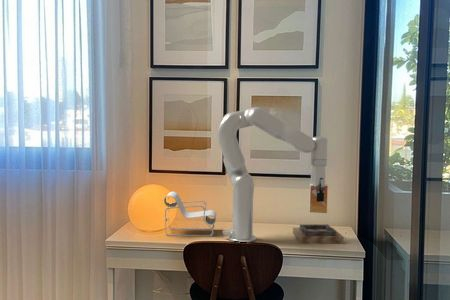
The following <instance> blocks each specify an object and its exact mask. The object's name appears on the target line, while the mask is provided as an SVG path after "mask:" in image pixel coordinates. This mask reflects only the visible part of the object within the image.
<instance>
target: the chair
mask: <svg viewBox="0 0 450 300" xmlns="http://www.w3.org/2000/svg"><path fill="white" fill-rule="evenodd" d="M166 197H168V198H169V197H172V198H173V199H174V200H175V201H174V202H175V203H172V204H169V203H167V202H166ZM163 203H164V205H165V206H166V207H167V208H165V210H164V228H165V229H164V230H165V236H169V237H171V236H172V237H212V236H213V235H214V232H215V231H214V228H215V223H216V222H217V221H216V220H217V213H216V211H215V210H213V209H208V210H207V202H206V201H203V200H196V201H193V200H192V201H182V200H181V197H180V195H179V194H178V192H176V191H170V192H168V194H167V195H165V198H164V199H163ZM187 203H189V204H190V203H203V204H204V206H203V205H191V206H184V204H187ZM177 206H178V207H177ZM169 207H170V208H169ZM186 208H202V209H203V210H201V211H193V212H190V211H187V210H186ZM171 209H179V210H180V213H181V214H182V216H183V218H185V219H194V218H201V217H202V218H203V222H204V223H205V224H206V225H207V226H208V227H209V228H201V229H202V231H203V230H206V231H207V230H211V233H210V234H168V231H167V222H168V221H169V218H168V219H167V211H168V210H171ZM211 226H212V227H211ZM168 228H169V229H171V230H200V228H197V227H196V228H193V227H192V228H191V227H190V228H189V227H186V228H185V227H179V228H177V227H174V228H173V227H171V224H170V225H169V224H168Z"/></svg>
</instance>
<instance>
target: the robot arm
mask: <svg viewBox="0 0 450 300" xmlns="http://www.w3.org/2000/svg"><path fill="white" fill-rule="evenodd" d="M253 126H255V127H256V128H257V129H259V130H261V131H263V132H265V133H267V134H268V135H269V136H271V137H273V138H275V139H278V140H280V141H283V142H285V143H287V144H289V145H291V146H293V147H294V149H295V150H296V151H298V152H299V153H305V154H309V153H310V166H311V171H310V184H312V185H314V187H316V186H317V191H318V193H317V201H318V202H323V201H324V187H325V184H326V167H327V166H328V138H327V137H326V136H313V137H312V136H311V137H310V136H309V135H308V134H306V133H304V132H303V131H301V130H299V129H297V128H295V127H294V126H292V125H290V124H289V123H287V122H285V121H284V120H282V119H280V118H279V117H277V116H275V115H273V114H272V113H270V112H268V111H267V110H265V109H263V108H261V107H258V106H254V107H250V108H246V109H243V110H237V111H233V112H229V113H226V114H224V116H223V118H222V121H221V122H220V124H219V127H218V130H217V139H218V143H219V147H220V150H221V153H222V156H223V164H224V167H225V168H224V169H225V171H226V173H227V175H228V179H229V181H230V183H231V186H232V189H233V190H232V228H231V229H229V230H222V235H223V236H225V237H226V236H227V237H228V236H229V237H228V240H230V241H231V242H234V241H239V242H238V243H240V242H247V243H253V242H255V241H257V237H256V235H254V234H253V232H254V231H253V229H254V228H253V225H254V223H253V222H254V193H255V182H254V179H253V177H252V175H251V174H250V173H249V172H248V169H247V166H246V159H245V155H244V154H243V152H242V149H241V146H240V144H239V141H238V140H239V139H238V138H237V132H238V130H239V129H243V128H248V127H253ZM319 188H320V189H319Z"/></svg>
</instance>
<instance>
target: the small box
mask: <svg viewBox="0 0 450 300" xmlns="http://www.w3.org/2000/svg"><path fill="white" fill-rule="evenodd" d="M319 189H320V188H319ZM317 193H318V191H317V186H316V187H314V185H312V184H311V183H309V201H308V203H309V207H308V209H309V213H316V214H318V213H319V214H327V213H328V184H326V183H325V187H324V201H323V202H318V201H317Z"/></svg>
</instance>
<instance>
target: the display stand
mask: <svg viewBox="0 0 450 300" xmlns="http://www.w3.org/2000/svg"><path fill="white" fill-rule="evenodd" d="M292 234H293V236H294V237H295V239H296V240H297V241H298V243H300V244H345V243H344V241H345V240H344V239H345V237H344V235H342V234H341V233H340V232H338V231H337V230H336V229H335V228H334V227H331V225H329V224H299V227H292Z"/></svg>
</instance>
